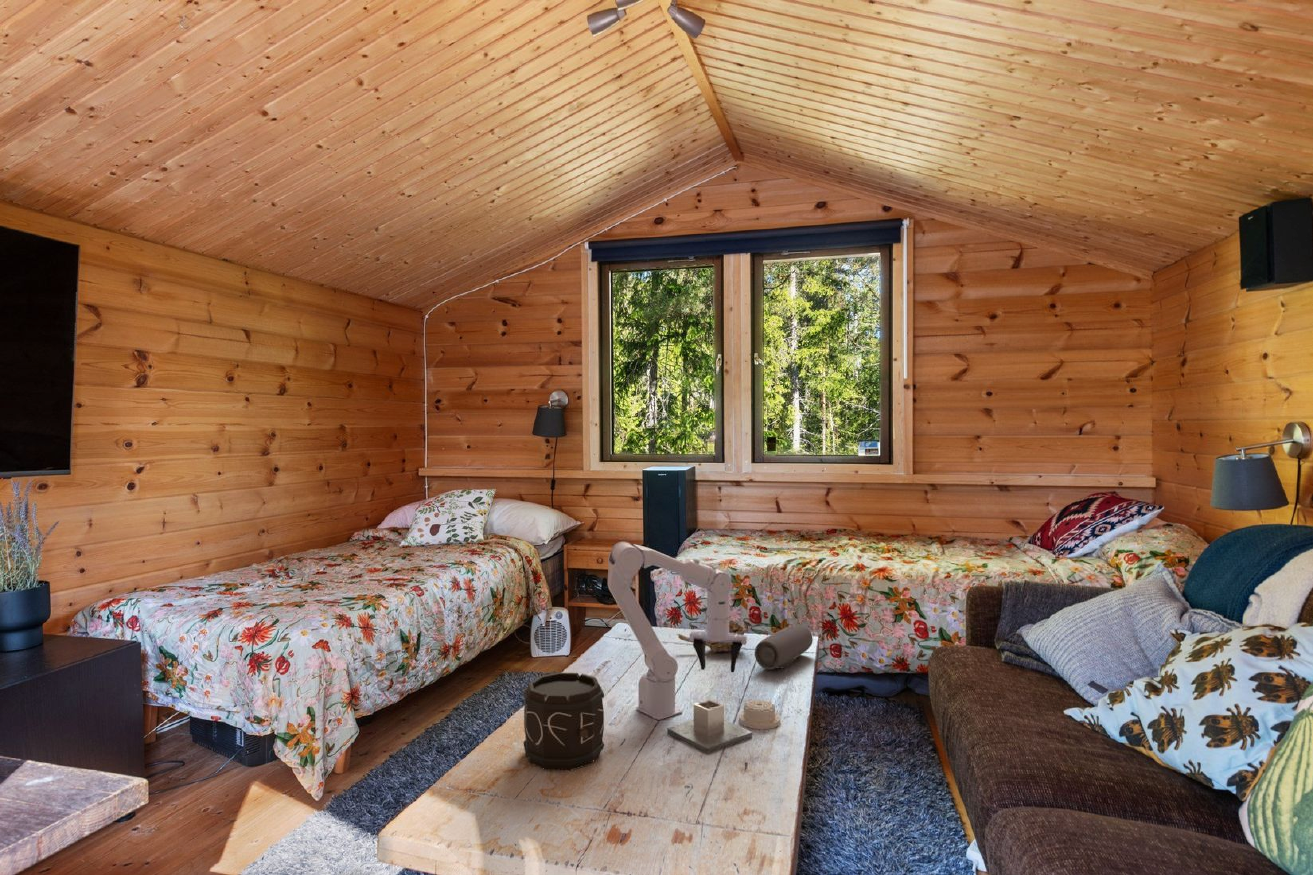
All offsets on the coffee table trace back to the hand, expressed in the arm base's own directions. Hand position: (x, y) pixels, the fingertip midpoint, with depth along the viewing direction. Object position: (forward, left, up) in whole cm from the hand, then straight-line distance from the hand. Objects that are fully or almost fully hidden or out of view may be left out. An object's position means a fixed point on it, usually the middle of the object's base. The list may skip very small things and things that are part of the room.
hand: (717, 669), depth 196 cm
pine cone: (-35, +30, -10) cm, 47 cm away
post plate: (+12, -14, -9) cm, 21 cm away
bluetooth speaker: (-13, +40, -10) cm, 43 cm away
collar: (+12, -14, -8) cm, 20 cm away
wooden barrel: (0, -46, -10) cm, 47 cm away
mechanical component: (+14, +1, -10) cm, 17 cm away
